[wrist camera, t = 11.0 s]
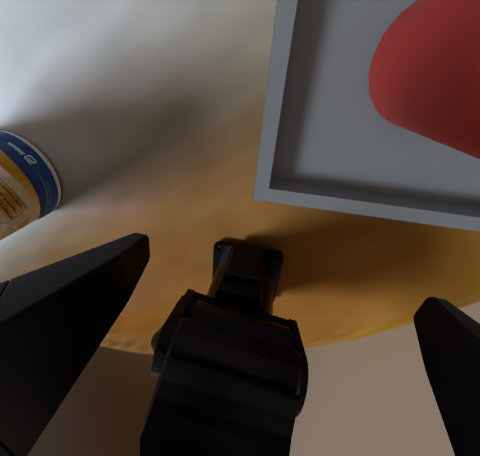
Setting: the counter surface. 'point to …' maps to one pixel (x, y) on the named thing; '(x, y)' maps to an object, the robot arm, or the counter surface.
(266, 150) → the tray
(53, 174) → the beverage bottle
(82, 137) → the counter surface
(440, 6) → the beer can
